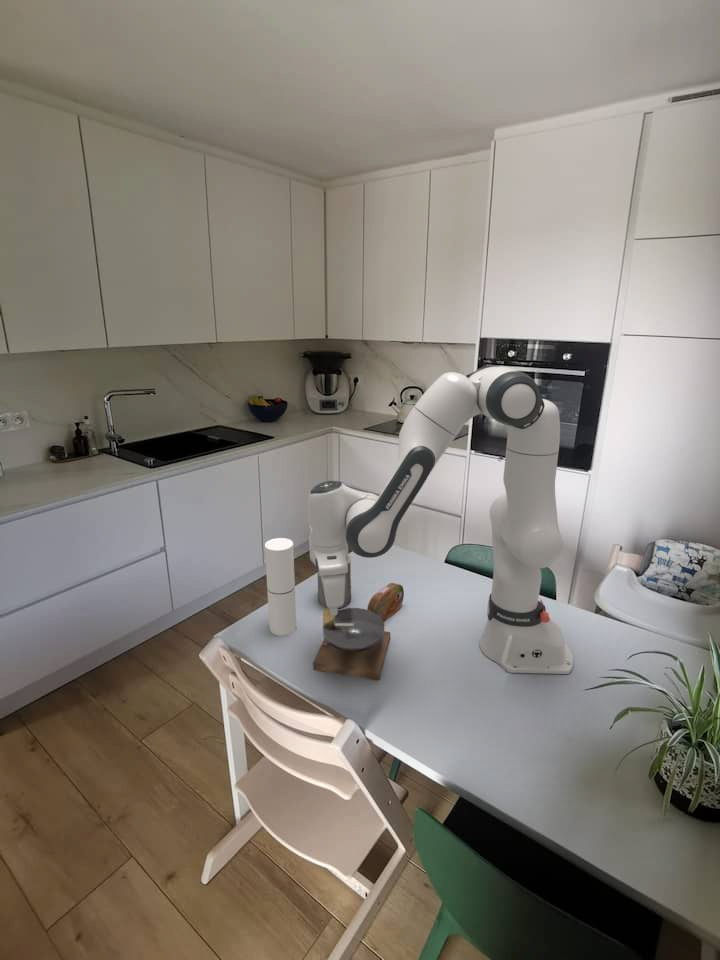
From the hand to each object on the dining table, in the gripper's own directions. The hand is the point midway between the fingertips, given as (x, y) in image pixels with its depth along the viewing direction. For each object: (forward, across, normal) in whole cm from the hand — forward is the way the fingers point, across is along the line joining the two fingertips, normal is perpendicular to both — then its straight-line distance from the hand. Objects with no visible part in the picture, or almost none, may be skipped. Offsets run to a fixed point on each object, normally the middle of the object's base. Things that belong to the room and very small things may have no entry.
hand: (330, 602), depth 119 cm
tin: (+16, -15, +17) cm, 27 cm away
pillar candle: (+16, -25, +3) cm, 29 cm away
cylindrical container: (+15, -14, -12) cm, 24 cm away
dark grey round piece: (+9, 0, +5) cm, 11 cm away
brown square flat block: (+15, 0, +5) cm, 16 cm away
